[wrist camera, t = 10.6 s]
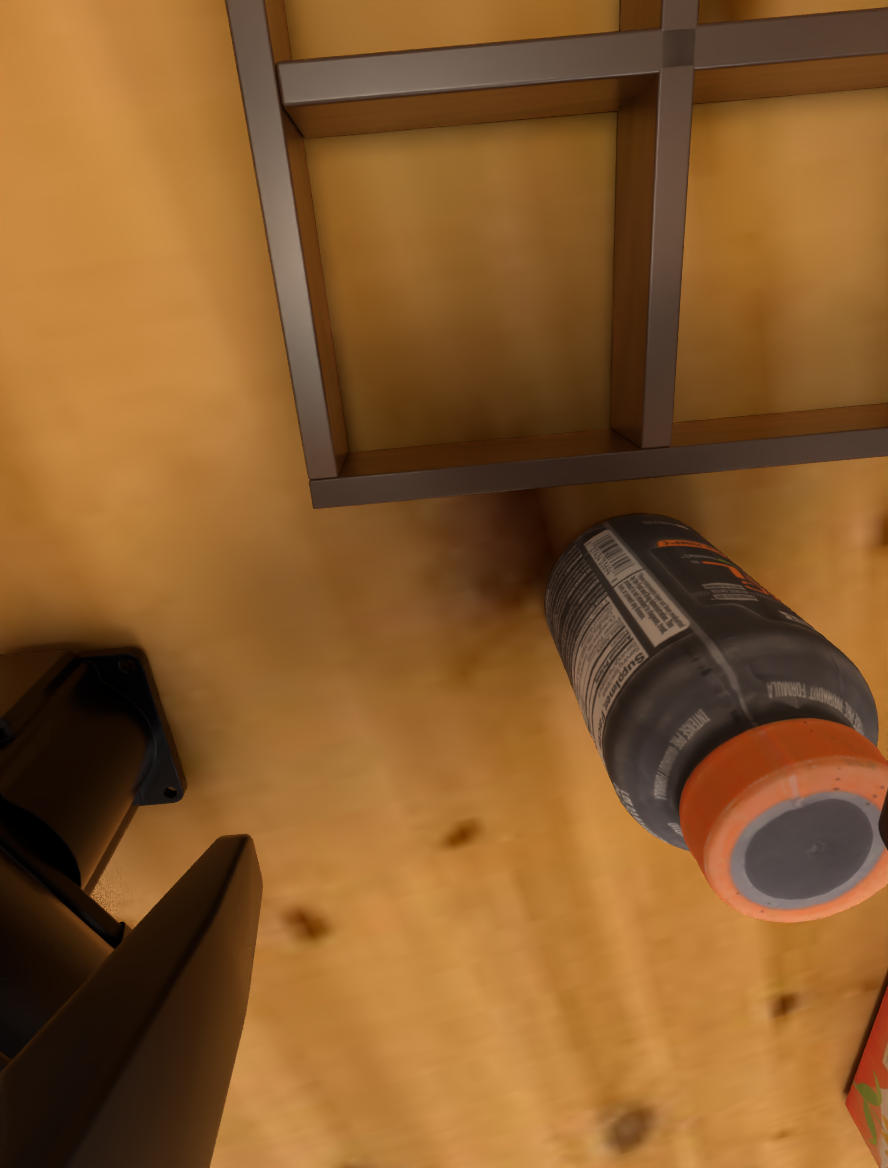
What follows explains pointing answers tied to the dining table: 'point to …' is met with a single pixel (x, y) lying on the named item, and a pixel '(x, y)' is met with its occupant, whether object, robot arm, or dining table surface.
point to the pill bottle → (723, 718)
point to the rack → (642, 225)
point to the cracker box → (873, 1089)
